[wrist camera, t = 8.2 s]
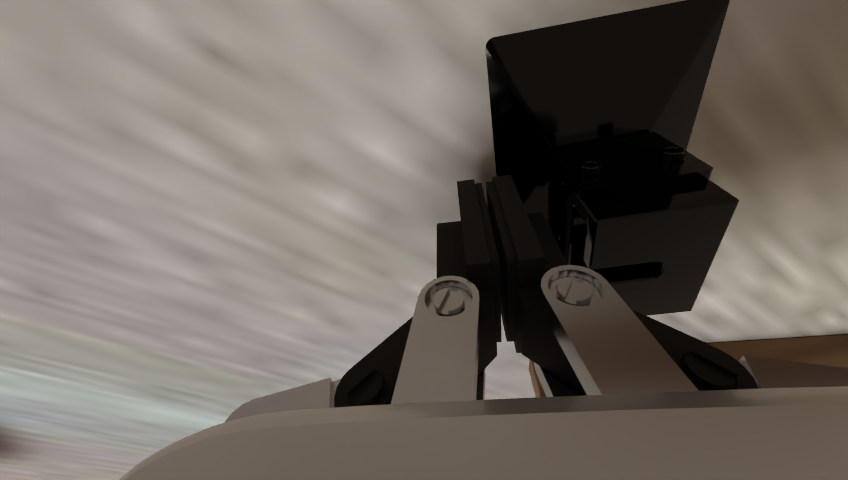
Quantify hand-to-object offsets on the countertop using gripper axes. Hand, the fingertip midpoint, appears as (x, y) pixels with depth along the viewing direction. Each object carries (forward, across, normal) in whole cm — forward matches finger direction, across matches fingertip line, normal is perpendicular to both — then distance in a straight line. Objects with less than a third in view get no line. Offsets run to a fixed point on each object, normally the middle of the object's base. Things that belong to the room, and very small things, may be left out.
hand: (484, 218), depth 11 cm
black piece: (+2, -4, 0) cm, 4 cm away
